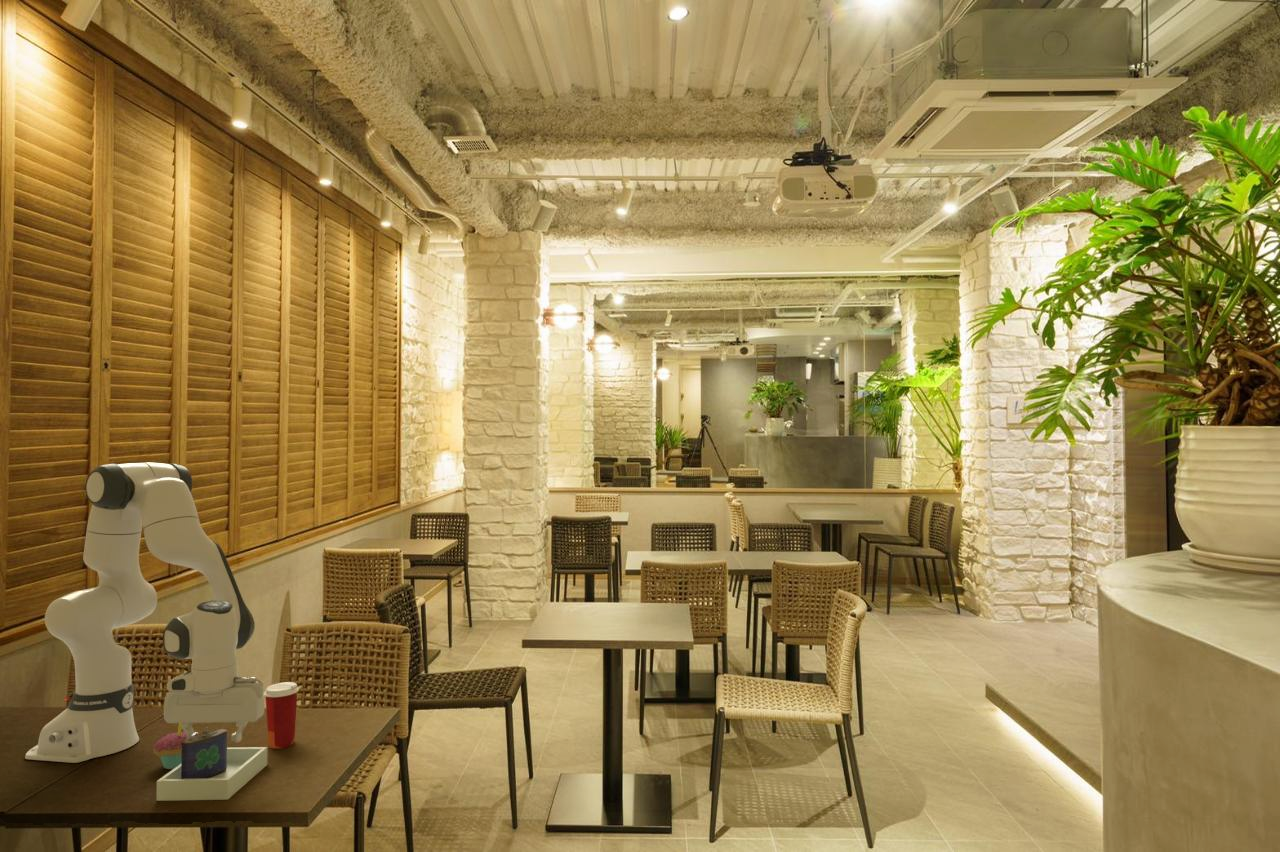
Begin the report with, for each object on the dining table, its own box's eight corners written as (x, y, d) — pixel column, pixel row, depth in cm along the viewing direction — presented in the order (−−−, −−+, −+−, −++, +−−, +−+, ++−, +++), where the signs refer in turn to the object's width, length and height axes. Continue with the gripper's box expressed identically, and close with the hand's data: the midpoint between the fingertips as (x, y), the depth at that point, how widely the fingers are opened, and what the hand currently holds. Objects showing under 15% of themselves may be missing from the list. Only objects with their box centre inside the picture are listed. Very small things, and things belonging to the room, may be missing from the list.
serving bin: (156, 800, 153) (156, 781, 154) (203, 765, 170) (203, 748, 170) (227, 799, 154) (227, 779, 154) (267, 764, 170) (267, 746, 170)
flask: (223, 767, 166) (224, 719, 166) (229, 771, 165) (231, 722, 165) (178, 783, 159) (179, 733, 159) (184, 787, 157) (185, 736, 157)
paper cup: (305, 738, 185) (305, 681, 186) (287, 751, 178) (287, 691, 178) (275, 737, 186) (275, 681, 186) (256, 750, 178) (256, 691, 179)
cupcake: (205, 759, 173) (205, 707, 174) (172, 775, 165) (172, 720, 166) (178, 755, 176) (178, 704, 176) (143, 770, 168) (144, 716, 168)
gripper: (269, 672, 166) (269, 735, 165) (177, 673, 165) (177, 736, 165) (255, 681, 159) (255, 747, 159) (159, 683, 159) (158, 748, 159)
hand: (214, 741), depth 162 cm, fingers open, 8 cm apart
